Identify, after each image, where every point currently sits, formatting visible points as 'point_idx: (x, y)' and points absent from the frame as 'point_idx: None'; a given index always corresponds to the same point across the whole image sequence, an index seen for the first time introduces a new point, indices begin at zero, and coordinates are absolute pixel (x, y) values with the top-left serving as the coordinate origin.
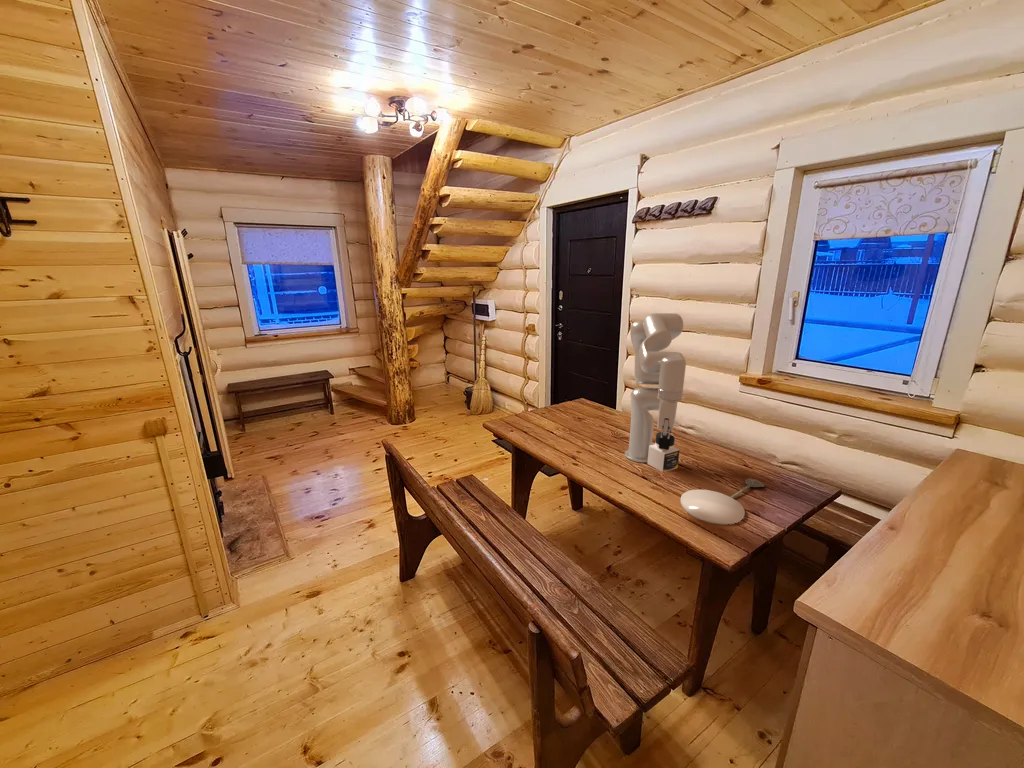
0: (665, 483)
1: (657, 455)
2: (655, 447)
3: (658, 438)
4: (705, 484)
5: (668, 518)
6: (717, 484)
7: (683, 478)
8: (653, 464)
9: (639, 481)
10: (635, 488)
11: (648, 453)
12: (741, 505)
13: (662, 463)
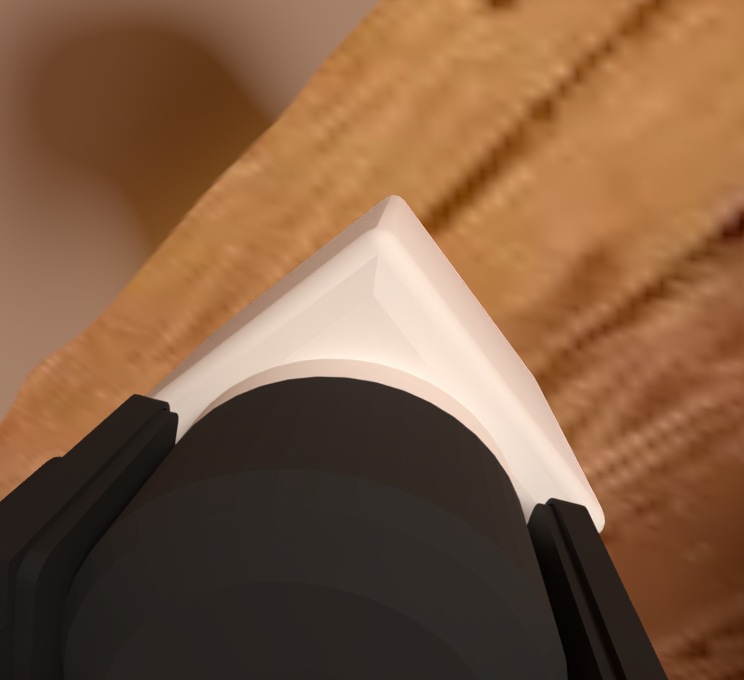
0: (661, 357)
1: (229, 331)
2: (286, 339)
3: (155, 485)
4: (652, 578)
5: (230, 294)
6: (653, 635)
7: (732, 481)
8: (309, 258)
9: (690, 175)
10: (578, 130)
11: (385, 210)
12: None
13: (183, 362)
